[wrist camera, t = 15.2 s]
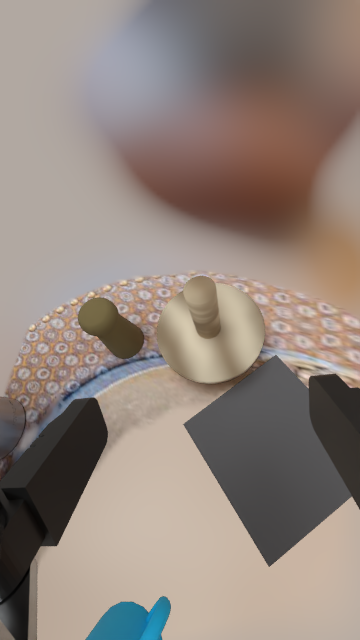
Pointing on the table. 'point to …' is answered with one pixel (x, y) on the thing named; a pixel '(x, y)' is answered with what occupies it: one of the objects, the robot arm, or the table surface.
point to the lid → (210, 331)
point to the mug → (132, 622)
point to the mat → (269, 458)
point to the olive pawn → (110, 327)
